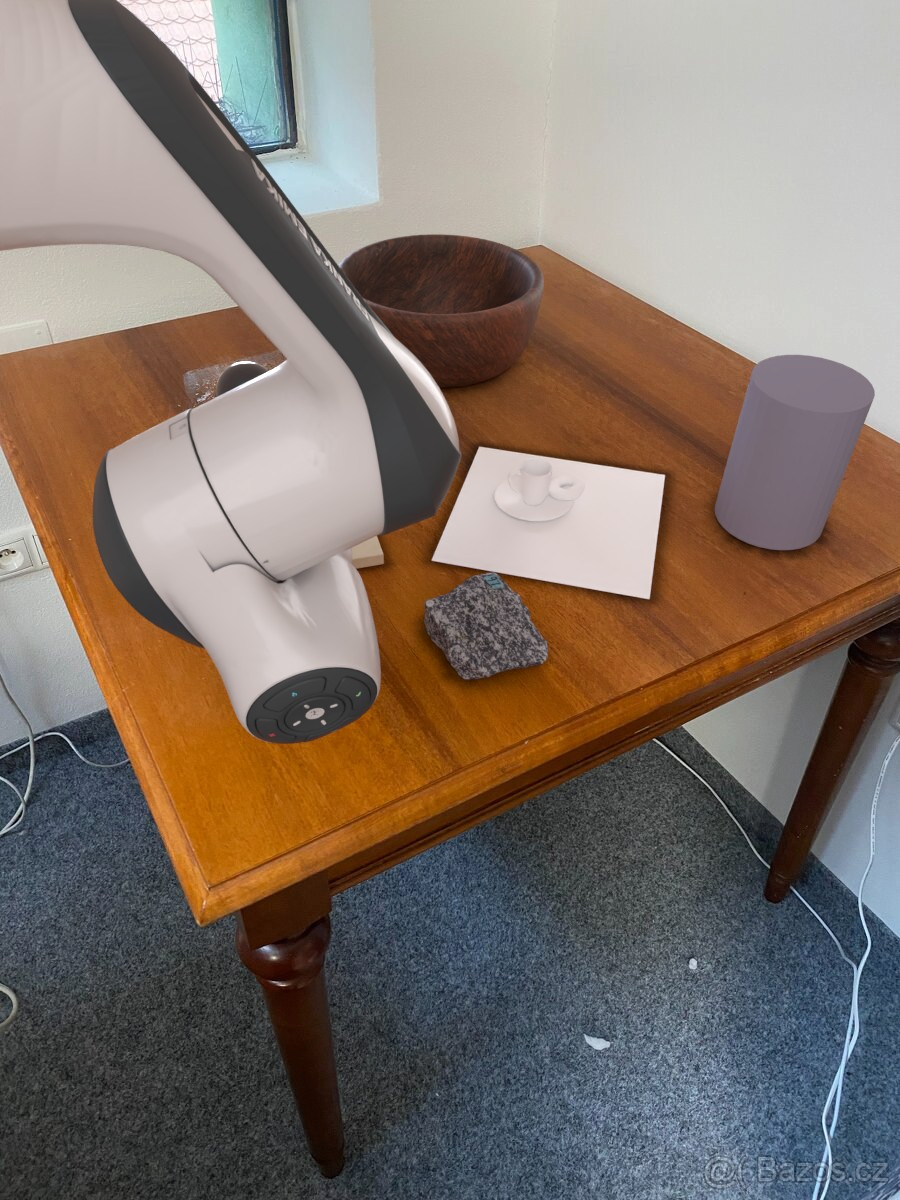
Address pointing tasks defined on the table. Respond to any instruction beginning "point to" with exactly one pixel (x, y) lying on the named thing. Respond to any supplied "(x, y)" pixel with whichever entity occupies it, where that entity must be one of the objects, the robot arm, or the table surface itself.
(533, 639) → the rock
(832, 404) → the container
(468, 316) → the wooden bowl
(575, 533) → the teacup and saucer
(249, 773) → the table surface
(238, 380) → the dome-topped canister
